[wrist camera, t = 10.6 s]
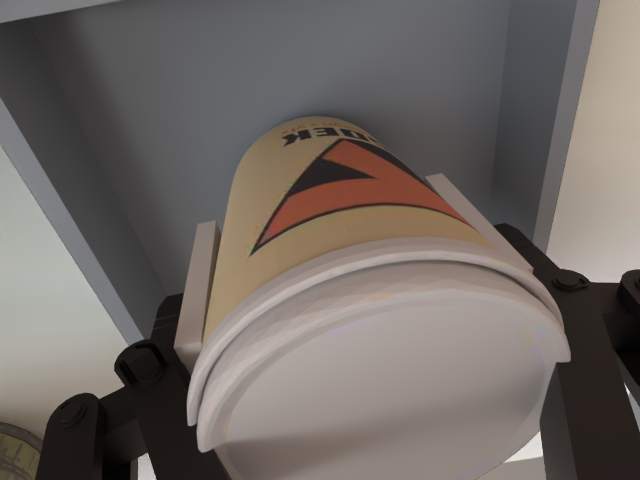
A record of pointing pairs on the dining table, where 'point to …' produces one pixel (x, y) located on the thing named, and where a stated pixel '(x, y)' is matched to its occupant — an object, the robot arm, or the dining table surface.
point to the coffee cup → (363, 323)
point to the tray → (272, 112)
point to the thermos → (18, 453)
